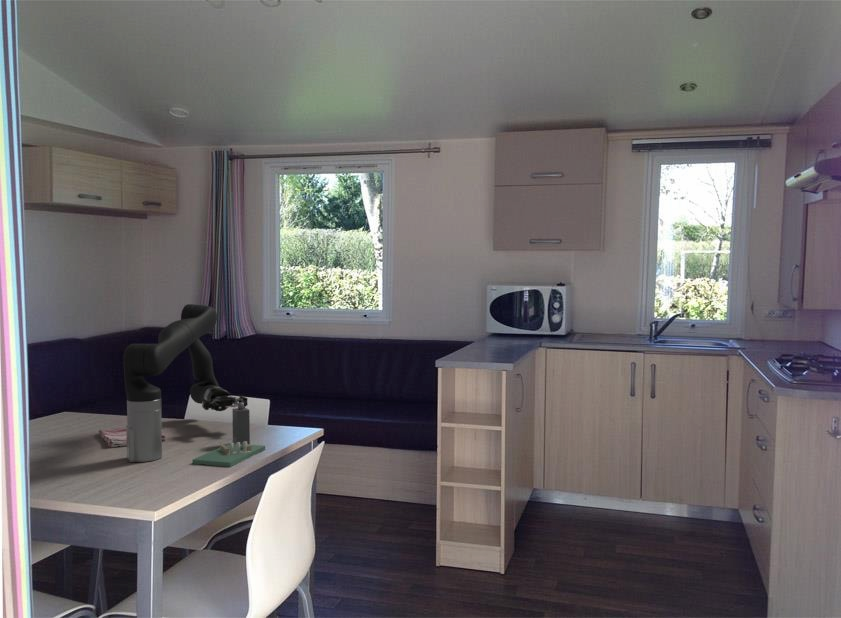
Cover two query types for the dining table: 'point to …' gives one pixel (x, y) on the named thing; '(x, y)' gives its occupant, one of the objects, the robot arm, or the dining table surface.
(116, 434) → the dish towel
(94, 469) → the dining table surface
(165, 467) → the dining table surface
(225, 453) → the board
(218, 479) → the dining table surface
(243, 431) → the block
